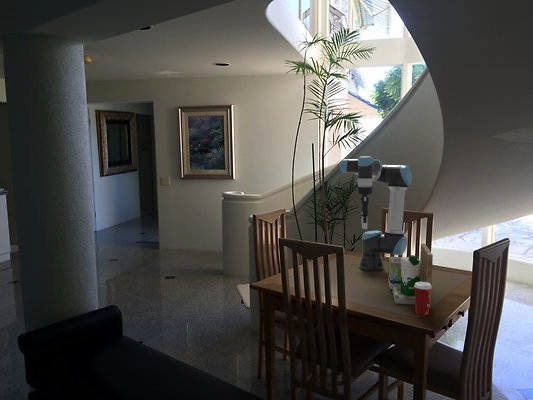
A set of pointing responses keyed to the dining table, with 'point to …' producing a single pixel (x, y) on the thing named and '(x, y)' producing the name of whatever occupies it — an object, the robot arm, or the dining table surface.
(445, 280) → the dining table surface
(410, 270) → the soya milk
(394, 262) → the tea box
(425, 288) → the paper cup
